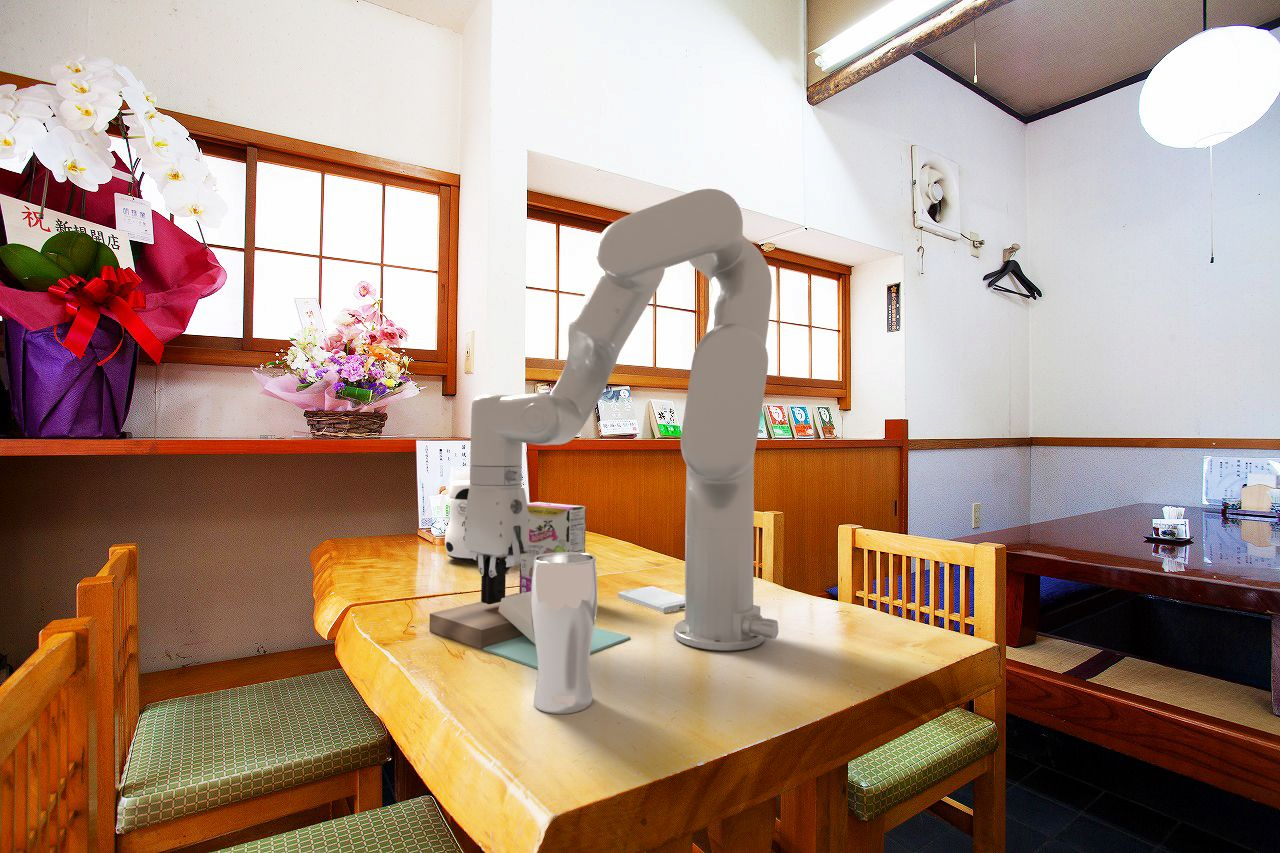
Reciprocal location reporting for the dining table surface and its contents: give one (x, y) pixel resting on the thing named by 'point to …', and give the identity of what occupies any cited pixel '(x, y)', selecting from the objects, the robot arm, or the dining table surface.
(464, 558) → the doce de leite container
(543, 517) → the candy bar box
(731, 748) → the dining table surface
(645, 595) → the hard drive
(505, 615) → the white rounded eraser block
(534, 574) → the beer glass
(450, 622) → the block
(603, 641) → the mat
